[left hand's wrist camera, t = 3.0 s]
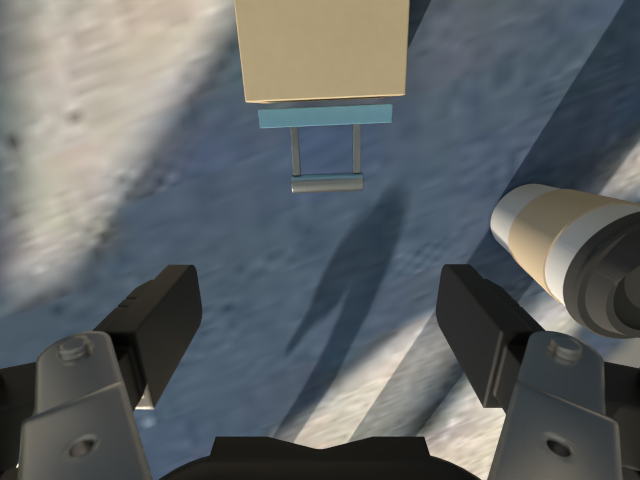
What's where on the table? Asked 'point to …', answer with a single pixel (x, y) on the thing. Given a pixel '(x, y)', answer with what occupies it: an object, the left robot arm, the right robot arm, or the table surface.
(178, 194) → the table surface
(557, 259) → the coffee cup
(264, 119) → the drawer
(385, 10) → the beige cardboard box
